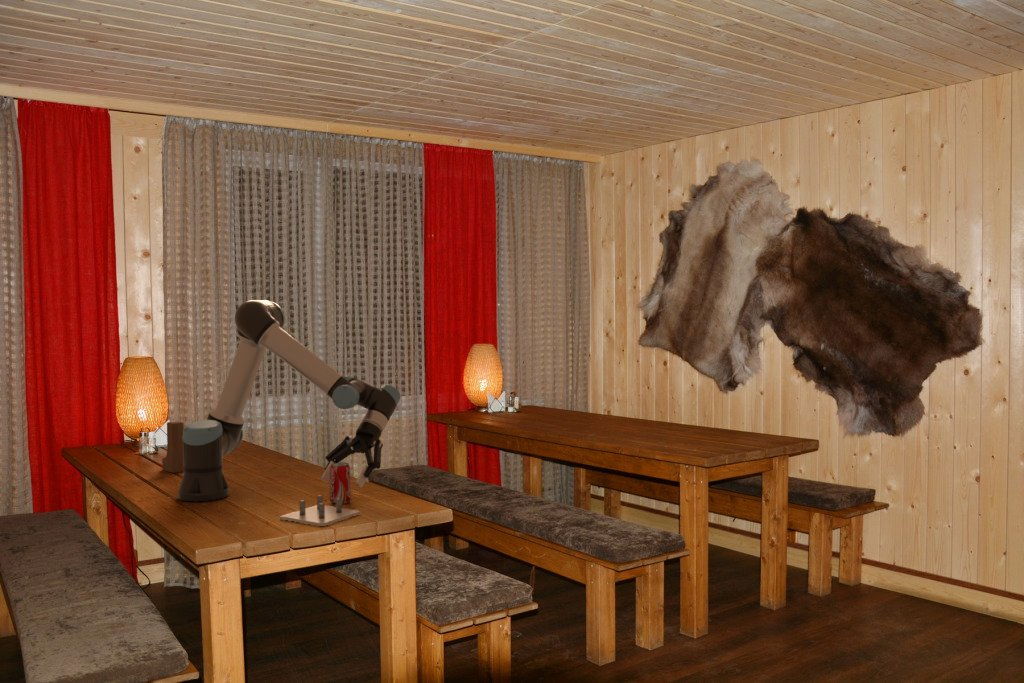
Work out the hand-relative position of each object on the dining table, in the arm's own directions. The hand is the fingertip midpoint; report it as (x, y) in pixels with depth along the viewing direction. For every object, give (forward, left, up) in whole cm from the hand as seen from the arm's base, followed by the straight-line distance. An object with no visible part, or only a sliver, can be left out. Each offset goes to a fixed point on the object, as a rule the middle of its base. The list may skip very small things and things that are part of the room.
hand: (340, 483), depth 262 cm
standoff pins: (+10, -14, -6) cm, 18 cm away
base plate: (+10, -14, -6) cm, 18 cm away
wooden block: (-85, -15, -6) cm, 86 cm away
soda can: (-1, 0, -6) cm, 6 cm away
